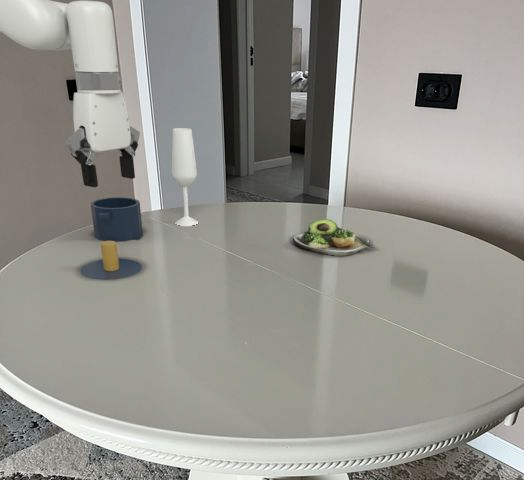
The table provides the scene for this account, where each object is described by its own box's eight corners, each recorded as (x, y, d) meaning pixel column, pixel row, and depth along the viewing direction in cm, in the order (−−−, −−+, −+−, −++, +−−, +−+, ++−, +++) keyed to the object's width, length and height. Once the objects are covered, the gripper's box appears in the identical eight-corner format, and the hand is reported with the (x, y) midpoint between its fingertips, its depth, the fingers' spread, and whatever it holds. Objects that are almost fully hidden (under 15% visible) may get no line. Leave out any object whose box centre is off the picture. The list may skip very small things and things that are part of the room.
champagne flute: (172, 220, 148) (166, 127, 136) (195, 219, 150) (192, 127, 138) (177, 227, 142) (171, 131, 131) (201, 225, 144) (198, 130, 133)
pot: (83, 246, 127) (78, 210, 123) (108, 226, 142) (104, 193, 138) (131, 248, 126) (127, 212, 122) (150, 228, 141) (148, 195, 137)
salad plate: (389, 246, 132) (391, 227, 130) (351, 264, 120) (353, 244, 117) (324, 230, 142) (325, 213, 140) (283, 245, 130) (284, 227, 128)
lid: (71, 282, 107) (65, 251, 104) (94, 261, 118) (90, 232, 115) (132, 286, 106) (128, 254, 103) (149, 264, 117) (147, 235, 114)
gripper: (118, 81, 103) (128, 172, 111) (44, 84, 90) (61, 187, 99) (147, 82, 100) (155, 177, 108) (74, 86, 87) (89, 192, 95)
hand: (110, 181), depth 103 cm, fingers open, 9 cm apart
